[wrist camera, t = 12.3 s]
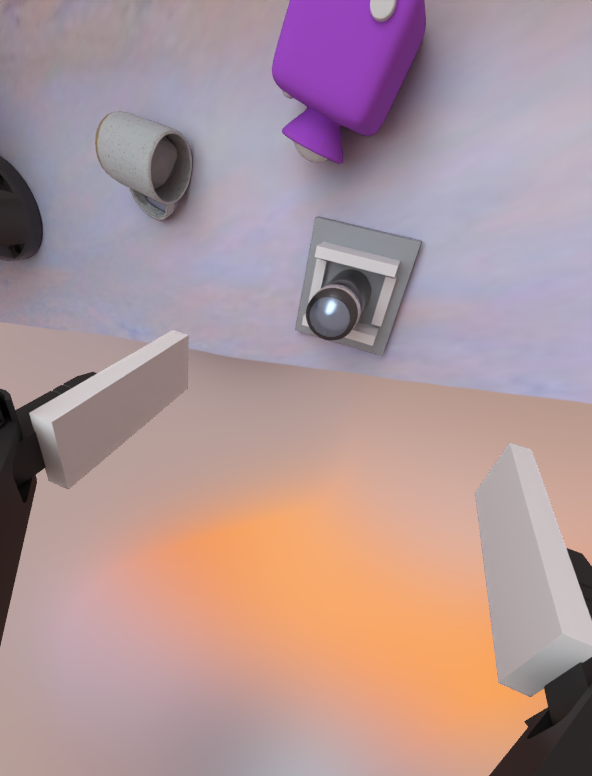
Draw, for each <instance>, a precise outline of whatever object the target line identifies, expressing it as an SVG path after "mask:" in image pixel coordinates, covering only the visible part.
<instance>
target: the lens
mask: <svg viewBox="0 0 592 776" xmlns="http://www.w3.org/2000/svg"><path fill="white" fill-rule="evenodd" d="M370 296H371V285H370V282H369V280H368V278H367V277H366V276H365V275H364V274H363V273H362V272H360V271H358V270H354V269H347V270H344V271H341V272H339V273H338V274H337V275H336V276H335V277H334V278H333V279H332V280H331V281H330V282H329V283H328V284H326V285H325V286H324V287H323V288H321V289H320V290H319V291H318V292H317V293H316V294H315V295H314V296H313V297H312V299H311V300H310V302H309V303H308V306H307V309H306V320H307V323H308V326H309V327H310V329H311V330H312V331H313V333H314V334H316V335H317V336H318V337H320V338H322V339H325V340H339V339H342V338H344V337H345V336H347V335H348V334H349V333H350V332H351V331H352V329H353V328H354V327H355V326H356V324H357V322H358V320H359V318H360V315H361V313H362V311H363V309H364V308H365V306H366V304H367V302H368V301H369V299H370Z"/></svg>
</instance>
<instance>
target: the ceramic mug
mask: <svg viewBox="0 0 592 776" xmlns="http://www.w3.org/2000/svg"><path fill="white" fill-rule="evenodd" d="M95 144H96V152H97V157H98V160H99V162H100V164H101V166H102V168H103V169H104V170H105V172H106V173H107V174H108V175H110V176H111V177H112V178H113V179H115V180H116V181H118V182H119V183H121V184H123V185H125V186H127V187H129V188H130V191H131V194H132V196H133V198H134V200H135V201H136V203H137V204H138V205H139V207H140V208H141V209H142V210H143V211H144V212H145V213H147V214H148V215H149V216H151V217H153V218H155V219H158V220H164V219H165V218H167V217H168V216H170V215H171V214H172V213H173V211H174V209H175V202H177V201H178V200H179V199H180V198H181V197H182V196H183V195H184V193H185V191H186V189H187V187H188V185H189V181H190V177H191V172H192V154H191V150H190V146H189V144H188V141H187V140H186V138H185V137H184V136H183V135H182V134H181V133H180V132H178V131H176V130H174V129H171V128H168V127H166V126H163V125H160V124H158V123H155V122H152V121H149V120H147V119H144V118H141V117H139V116H136V115H134V114H131V113H126V112H113V113H110V114H108V115H107V116H105V117H104V118H103V120H102V121H101V123H100V125H99V127H98V129H97V133H96V143H95ZM144 195H145V196H147V197H149V198H151V199H153V200H155V201H157V202H159V203H162V204H165V205H166V211H165V212H164V211H161V210H160V209H158V208H156V207H154V206H153V205H152V204H150V203H149V202H148V201H147V200H146V198H145V197H144Z"/></svg>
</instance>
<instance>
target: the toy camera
mask: <svg viewBox="0 0 592 776" xmlns="http://www.w3.org/2000/svg"><path fill="white" fill-rule="evenodd" d="M425 26H426V16H425V3H424V0H290V2H289V6H288V9H287V13H286V16H285V20H284V23H283V27H282V30H281V34H280V37H279V40H278V44H277V48H276V51H275V55H274V60H273V66H272V75H273V78H274V81H275V82H276V84H277V85H278V86H279V87H280V88H281V89H282V90H283V94H284V95H285V96H286V97H287V98H290V99H291V98H295V99H296V100H298V101H300V102H301V103H303V104H305V105H306V106H307V109H306V110H305V111H304V112H303V113H302V114H300V115H299V116H298V117H296V118H295V119H294V120H292V121H291V122H290V123H289V124H287V125H286V126H285V127H284V128H283V129H282V133H283V134H284V135H285V136H287V137H288V138H290V139H291V140H293V141H294V143H295V146H296V148H297V150H298V152H299V153H300V154H301V155H302V156H303V157H304V158H305V159H307V160H309V161H311V162H316V163H318V162H324V161H326V160H328V159H329V160H331V161H333V162H336V163H339V164H342V163H343V151H342V142H341V134H340V127H341V126H344V127H346V128H348V129H350V130H352V131H354V132H356V133H359V134H362V135H366V136H370V135H373V134H375V133H376V132H377V131H378V130H379V129H380V127H381V126H382V124H383V122H384V120H385V119H386V117H387V115H388V112H389V110H390V108H391V106H392V104H393V102H394V100H395V98H396V96H397V94H398V91H399V89H400V87H401V85H402V83H403V81H404V79H405V77H406V74H407V72H408V70H409V68H410V66H411V64H412V62H413V59H414V57H415V55H416V53H417V51H418V49H419V46H420V44H421V41H422V39H423V36H424V32H425Z"/></svg>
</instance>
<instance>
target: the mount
mask: <svg viewBox="0 0 592 776" xmlns="http://www.w3.org/2000/svg"><path fill="white" fill-rule="evenodd" d="M420 244H421V241H420V240H416V239H412V238H407V237H403V236H399V235H395V234H390V233H386V232H382V231H378V230H374V229H369V228H365V227H361V226H357V225H352V224H348V223H344V222H340V221H335V220H331V219H327V218H323V217H315V223H314V229H313V234H312V240H311V245H310V251H309V256H308V262H307V267H306V273H305V278H304V284H303V289H302V295H301V300H300V306H299V311H298V317H297V322H296V328H295V330H297V331H300V332H304V333H307V334H310V335H314V336H317V335H316V334H314V333H313V331H312V330H311V329H310V327H309V326H308V323H307V320H306V309H307V306H308V303H309V302H310V300H311V299H312V297H313V296H314V295H315V294H316V293H317V292H318V291H319V290H320V289H321V288H323V287H324V286H325V285H326V284H328V283H329V282H330V281H331V280H332V279H333V278H334V277H335V276H336V275H337V274H338V273H339V272H341V271H344V270H347V269H354V270H358V271H360V272H362V273H363V274H364V275H365V276H366V277H367V278H368V280H369V282H370V285H371V296H370V299H369V301H368V302H367V304H366V306H365V308H364V309H363V311H362V313H361V315H360V318H359V320H358V322H357V324H356V326H355V327H354V328H353V329H352V331H351V332H350V333H349V334H348V335H347V336H345V337H344V338H342V339H339V340H330V341H334V342H337V343H340V344H344V345H347V346H350V347H354V348H357V349H360V350H364V351H367V352H370V353H374V354H377V355H380V356H383V353H384V350H385V347H386V344H387V341H388V338H389V335H390V332H391V329H392V326H393V323H394V320H395V318H396V315H397V312H398V309H399V306H400V303H401V300H402V297H403V294H404V291H405V288H406V285H407V282H408V279H409V276H410V273H411V271H412V268H413V265H414V262H415V259H416V256H417V253H418V250H419V247H420ZM317 337H318V336H317Z"/></svg>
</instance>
